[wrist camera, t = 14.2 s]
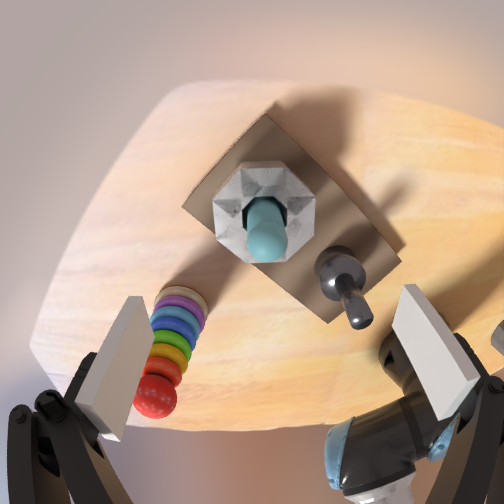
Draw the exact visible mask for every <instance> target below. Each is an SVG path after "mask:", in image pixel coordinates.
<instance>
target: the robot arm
mask: <svg viewBox="0 0 504 504" xmlns="http://www.w3.org/2000/svg"><path fill="white" fill-rule="evenodd" d="M392 327H393V329H394V330H393V331H392V332H391V333H390V334H389V335H388V337H387V338H386V339H385V341H384V342H383V344H382V346H381V349H380V352H379V360H380V363H381V365H382V368H383V370H384V371H385V373H386V374H387V375H388V376H389V377H390V378H391V379H392V380H393V381H394V382H395V383H396V384H397V385H398V386H399V387H400V388H401V389H402V391H403V393H404V395H405V396H404V397H402V398H400V399H398V400H395V401H393V402H391V403H389V404H387V405H385V406H382V407H380V408H378V409H375V410H373V411H370V412H368V413H365V414H363V415H360V416H358V417H355V416H354V417H352V418H351V419H349V420H347V421H345V422H342V423H340V424H337V425H335V426H333V427H332V428H331V429H330V430H329V432H328V433H327V436H326V441H325V467H326V473H327V477H328V479H329V484H330V486H331V487H332V488H333V489H337V490H340V489H343V493H344V497H345V498H346V499H348V500H350V501H353V502H354V503H356V504H415V503H414V499H413V495H412V491H411V487H410V483H411V481H412V479H413V477H414V475H415V474H416V468H415V465H414V462H416V461H418V460H419V459H422V458H424V457H427V459H428V460H429V461H430V462H436V461H438V460H440V459H442V458H444V461H443V463H442V466H441V469H440V471H439V474H438V476H437V478H436V481H435V483H434V485H433V488H432V490H431V492H430V495H429V496H428V498H427V501H426V503H425V504H484V501H485V498H486V495H487V501H486V504H504V382H503V381H502V380H501V379H500V378H498V377H496V376H490V375H489V374H488V373H487V371H486V369H485V368H484V366H483V365H482V363H481V362H480V360H479V359H478V357H477V356H476V354H474V351H473V350H472V348H470V345H469V344H468V342H467V341H466V340H465V338H463V337H462V336H461V335H460V334H458V333H452V330H451V327H450V325H449V323H448V322H447V320H446V319H445V317H444V316H443V315H442V314H440V313H437V311H436V310H435V309H434V307H433V306H432V305H431V303H430V302H429V301H428V299H427V298H426V297H425V295H424V294H423V293H422V292H421V290H420V289H419V288H418V286H417V285H416V284H407V285H403V288H402V292H401V296H400V299H399V303H398V307H397V310H396V313H395V317H394V320H393V323H392ZM154 338H155V336H154V333H153V330H152V327H151V324H150V321H149V317H148V314H147V311H146V308H145V304H144V301H143V297H142V296H129V297H128V298H127V300H126V302H125V304H124V305H123V307H122V309H121V311H120V312H119V314H118V316H117V318H116V320H115V321H114V323H113V325H112V327H111V329H110V331H109V332H108V334H107V336H106V338H105V340H104V342H103V344H102V346H101V348H100V350H99V352H98V353H94V352H90V353H89V354H88V355H87V356H86V357H85V358H84V359H83V360H82V362H81V364H80V366H79V368H78V370H77V371H76V373H75V377H73V379H72V381H71V383H70V385H69V387H68V389H67V391H66V393H65V396H64V398H63V397H62V396H61V395H60V393H59V392H57V391H56V390H51V389H50V390H46V391H44V392H42V393H40V394H39V396H38V397H37V398H36V400H35V409H36V410H37V411H38V412H33V411H32V410H31V409H30V408H29V407H28V406H26V405H22V404H21V405H17V406H16V407H15V408H13V409H12V411H11V412H10V415H9V423H8V440H7V473H8V474H7V475H8V492H9V503H10V504H71V501H70V496H69V492H70V494H71V496H72V499H73V501H74V503H75V504H133V502H132V500H131V499H130V497H129V496H128V494H127V493H126V491H125V489H124V487H123V486H122V484H121V482H120V481H119V479H118V477H117V475H116V473H115V471H114V469H113V468H112V466H111V464H110V462H109V460H108V458H107V456H106V454H105V452H104V450H103V448H102V446H101V444H100V441H99V440H98V439H97V437H98V433H99V432H100V433H101V434H102V436H103V437H104V438H106V439H110V440H115V441H119V442H121V439H122V435H123V432H124V429H125V425H126V422H127V419H128V415H129V412H130V409H131V406H132V403H133V400H134V397H135V393H136V390H137V387H138V384H139V381H140V378H141V375H142V372H143V369H144V367H145V364H146V361H147V358H148V355H149V352H150V350H151V347H152V344H153V341H154ZM68 490H69V491H68Z"/></svg>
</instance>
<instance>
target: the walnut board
mask: <svg viewBox="0 0 504 504" xmlns="http://www.w3.org/2000/svg"><path fill="white" fill-rule="evenodd" d="M280 160H281V161H282V162H283V163H284V164H285V165H286V166H287V167H288V168H289V169H290V170H291V171H292V172H293V173H294V174H295V175H296V176H297V177H299V178H300V179H301V180H302V181H303V182H304V183H305V184H306V185H307V186H308V187H309V189H310V190H311V191H312V193H313V194H314V195H315V220H314V236H313V237H312V238H311V239H310V240H308V241H307V242H306V243H305V244H304V245H303V246H302V247H301V248H300V249H299V250H298V251H297V252H296V253H294V254H293V255H292V256H291V257H290V258H289V259H288V260H287V261H286V262H269V263H252V264H253V265H254V266H255V267H257V268H258V269H259V270H260V271H262V272H263V273H264V274H265V275H267V276H268V277H269V278H270V279H272V280H273V281H274V282H275V283H277V284H278V285H279V286H280V287H282V288H283V289H284V290H285V291H287V292H288V293H289V294H291V295H292V296H293V297H294V298H296V299H297V300H298V301H299V302H301V303H302V304H303V305H304V306H306V307H307V308H308V309H309V310H311V311H312V312H313V313H315V314H316V315H317V316H318V317H320V318H321V319H322V320H323V321H325V322H326V323H327V324H328V323H330V322H331V321H332V320H334V319H335V318H336V317H337V316H339V315H340V314H341V313H343V312H344V311H345V309H344V307H343V304H342V302H341V301H333V300H330V299H328V298H327V297H326V296H325V295H324V294H323V292H322V290H321V287H320V284H319V282H318V279H317V276H316V273H315V269H314V265H315V261H316V259H317V257H318V256H319V254H320V253H321V252H322V251H323V250H325V249H326V248H328V247H331V246H335V245H341V246H345V247H348V248H349V249H351V250H352V252H353V253H354V254H355V256H356V257H357V259H358V260H359V262H360V264H361V265H362V267H363V268H364V270H365V272H366V282H365V285H364V287H363V289H362V290H361V293H362V295H364V294H366V293H367V292H368V291H369V290H370V289H372V288H373V287H374V286H375V285H376V284H377V283H378V282H380V281H381V280H382V279H383V278H384V277H385V276H386V275H388V274H389V273H390V272H391V271H392V270H393V269H394V268H395V267H396V266H398V265H399V264H400V263H401V262H402V261H401V259H400V258H399V257H398V255H397V254H396V253H395V252H394V250H393V249H392V248H391V247H390V245H389V244H388V243H387V241H386V240H385V239H384V238H383V237H382V235H381V234H380V233H379V232H378V230H377V229H376V228H375V227H374V226H373V224H372V223H371V222H370V221H369V220H368V218H367V217H366V216H365V215H364V214H363V213H362V211H361V210H360V209H359V208H358V207H357V206H356V205H355V203H354V202H353V201H352V200H351V199H350V198H349V197H348V196H347V195H346V193H345V192H344V191H343V190H342V189H341V188H340V187H339V186H338V185H337V184H336V183H335V181H334V180H333V179H332V178H331V177H330V176H329V175H328V174H327V173H326V172H325V171H324V170H323V169H322V168H321V167H320V166H319V165H318V164H317V163H316V162H315V161H314V160H313V159H312V158H311V157H310V156H309V155H308V154H307V153H306V152H305V151H304V150H303V149H302V148H301V147H300V146H299V145H298V144H297V143H296V142H295V141H294V140H293V139H292V138H291V137H290V136H289V135H288V134H287V133H286V132H285V131H283V130H282V129H281V128H280V127H279V126H278V125H277V124H276V123H275V122H274V121H273V120H271V119H270V118H269V117H268V116H267V115H266V114H264V115H263V116H262V117H261V118H260V119H259V120H258V121H257V122H256V123H255V124H254V125H253V126H252V127H251V128H250V129H249V131H248V132H247V133H246V134H245V135H244V136H243V137H242V138H241V139H240V140H239V141H238V142H237V143H236V144H235V145H234V146H233V148H232V149H231V150H230V151H229V152H228V153H227V154H226V155H225V156H224V157H223V159H222V160H221V161H220V162H219V163H218V164H217V165H216V166H215V167H214V169H213V170H212V171H211V172H210V173H209V174H208V175H207V177H206V178H205V179H204V180H203V181H202V182H201V183H200V185H199V186H198V187H197V188H196V189H195V191H194V192H193V193H192V194H191V195H190V196H189V198H188V199H187V200H186V201H185V203H184V204H183V205H182V208H183V209H185V210H186V211H187V212H188V213H190V214H191V215H192V216H193V217H195V218H196V219H197V220H198V221H200V222H201V223H202V224H203V225H204V226H206V227H207V228H208V229H209V230H211V231H212V232H213V233H214V234H216V233H215V223H214V213H213V202H212V200H213V197H214V195H215V193H216V191H217V189H218V188H219V187H220V186H221V184H222V183H223V182H224V181H225V180H226V179H227V178H228V177H229V176H230V175H231V173H232V172H233V171H234V170H235V169H236V168H237V167H238V166H239V165H240V164H241V163H242V162H249V161H280Z"/></svg>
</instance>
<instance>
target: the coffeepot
mask: <svg viewBox="0 0 504 504" xmlns="http://www.w3.org/2000/svg"><path fill="white" fill-rule="evenodd" d="M491 345H492V346H493V347H494V348H496V349H497V350H498V351H499V352H500V353H501V354H502V355H503V356H504V320H503V321H502V322H501V323H500V324H499V325H498V327H497V328H496V329H495V331H494V333H493V335H492V337H491Z"/></svg>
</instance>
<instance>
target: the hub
mask: <svg viewBox="0 0 504 504" xmlns="http://www.w3.org/2000/svg"><path fill="white" fill-rule="evenodd" d="M243 210H244V214H245V215H247V247H248V250H249V252H250V253H251V255H252V256H253V257H254V258H256V259H257V260H259V261H262V262H273V261H276V260H278V259H279V258H280V257H282V256H283V254H284V253H285V251H286V249H287V246H288V237H287V234H286V230H285V227H284V223H283V220H282V216H281V213H282V212H283V204H282V203H281V202H280V201H279V200H277V199H276V198H275V197H274V196H262V197H254V198H253V199H252V200H251V201H250V202H249V203H248V204H247V205H246V206H245V207H244V208H243Z"/></svg>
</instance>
